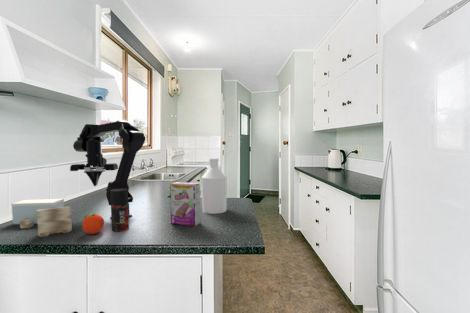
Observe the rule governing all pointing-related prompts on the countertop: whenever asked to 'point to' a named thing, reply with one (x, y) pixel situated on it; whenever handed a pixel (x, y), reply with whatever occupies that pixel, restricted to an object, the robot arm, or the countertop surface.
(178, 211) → the candy bar box
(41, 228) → the beige layered block
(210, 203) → the bottle
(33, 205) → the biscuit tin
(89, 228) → the clementine
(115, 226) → the deodorant
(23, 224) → the left marker cube
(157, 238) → the countertop surface
